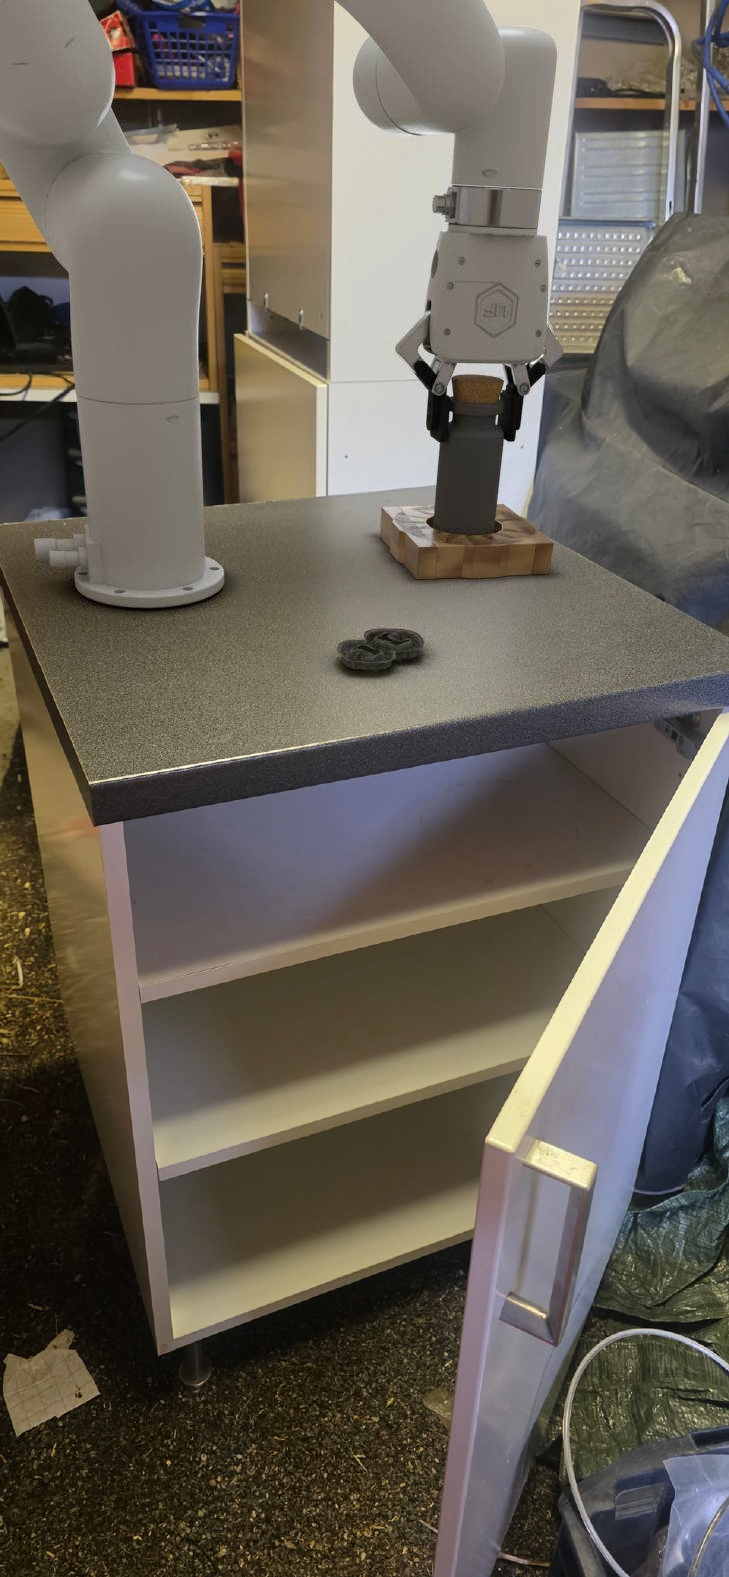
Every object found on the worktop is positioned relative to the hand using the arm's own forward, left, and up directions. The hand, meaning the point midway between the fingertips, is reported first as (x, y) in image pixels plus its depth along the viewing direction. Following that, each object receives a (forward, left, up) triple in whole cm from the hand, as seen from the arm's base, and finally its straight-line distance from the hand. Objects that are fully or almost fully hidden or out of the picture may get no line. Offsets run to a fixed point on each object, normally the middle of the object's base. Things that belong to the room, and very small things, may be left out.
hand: (472, 437), depth 94 cm
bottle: (0, 0, -10) cm, 10 cm away
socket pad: (0, 0, -11) cm, 11 cm away
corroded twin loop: (-14, -23, -11) cm, 29 cm away
